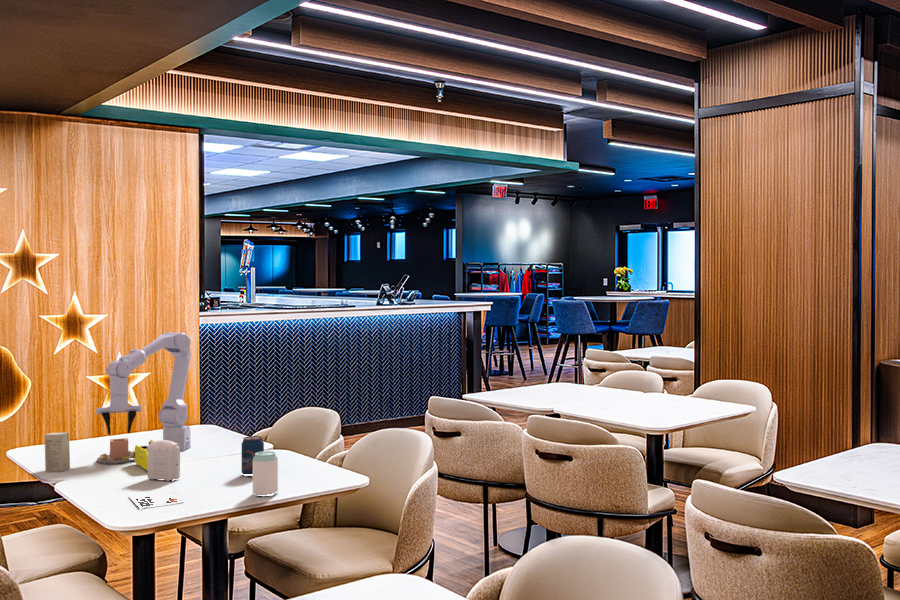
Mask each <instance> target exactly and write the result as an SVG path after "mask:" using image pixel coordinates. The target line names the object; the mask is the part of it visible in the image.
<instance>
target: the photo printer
mask: <svg viewBox="0 0 900 600" xmlns="http://www.w3.org/2000/svg"><path fill="white" fill-rule="evenodd" d="M180 464H181V451H180V446H179V445H178V444H177V443H175V442H172V441H169V440H163V439H159V440H153V442H151V443H150V444H149V443H148V471H147V479H148V478H150V479H149V480H153V479H164V480H173V479H178V478H179V477H181V473H180V471H181V469H180V468H181V465H180ZM179 479H180V478H179Z"/></svg>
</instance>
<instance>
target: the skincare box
mask: <svg viewBox="0 0 900 600" xmlns="http://www.w3.org/2000/svg"><path fill="white" fill-rule="evenodd" d="M70 451H71V450H70V432H50V433H46V434H44V462H45V464H44V468H45V472H64V471H67V470H69V469H71V461H70V460H71V459H70V454H71V452H70Z"/></svg>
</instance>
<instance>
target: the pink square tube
mask: <svg viewBox="0 0 900 600" xmlns="http://www.w3.org/2000/svg"><path fill="white" fill-rule="evenodd" d="M128 451H129V438H128V437H127V438H126V437H124V438H111V439H109V455H110V457H115V459H121V457H125V456H128Z"/></svg>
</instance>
